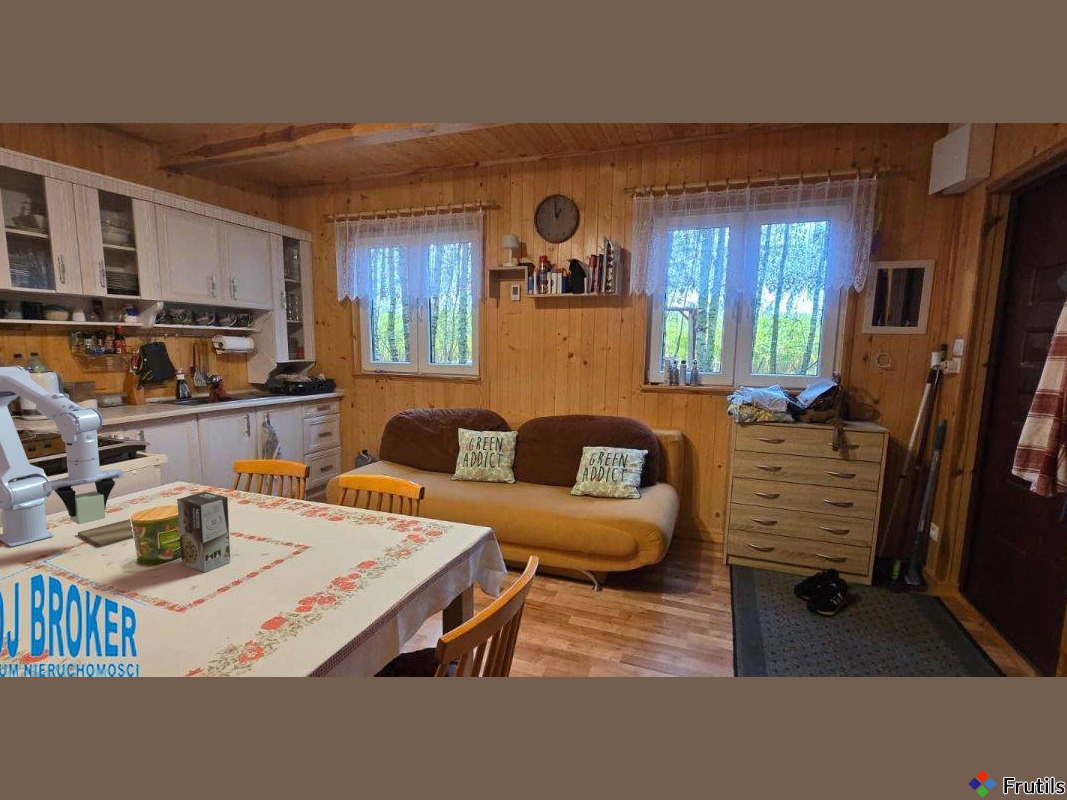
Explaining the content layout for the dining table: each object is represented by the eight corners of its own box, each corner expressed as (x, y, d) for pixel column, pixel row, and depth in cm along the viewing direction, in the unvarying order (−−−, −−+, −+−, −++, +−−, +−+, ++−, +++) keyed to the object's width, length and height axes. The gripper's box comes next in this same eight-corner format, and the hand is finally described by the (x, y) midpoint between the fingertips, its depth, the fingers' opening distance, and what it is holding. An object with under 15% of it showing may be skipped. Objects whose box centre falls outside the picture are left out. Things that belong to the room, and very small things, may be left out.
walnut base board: (78, 535, 126) (77, 532, 126) (137, 519, 137) (137, 517, 137) (100, 547, 120) (99, 544, 120) (160, 530, 131) (160, 527, 131)
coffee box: (232, 561, 115) (229, 497, 113) (204, 573, 109) (200, 505, 107) (208, 553, 119) (205, 490, 117) (179, 564, 113) (176, 498, 111)
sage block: (70, 519, 118) (68, 496, 117) (96, 513, 122) (94, 491, 122) (79, 524, 116) (76, 500, 115) (105, 518, 120) (103, 495, 119)
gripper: (48, 467, 109) (54, 525, 111) (127, 455, 121) (130, 507, 123) (37, 462, 112) (42, 518, 114) (114, 451, 125) (118, 501, 127)
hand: (87, 512), depth 119 cm, fingers closed on sage block, 5 cm apart
